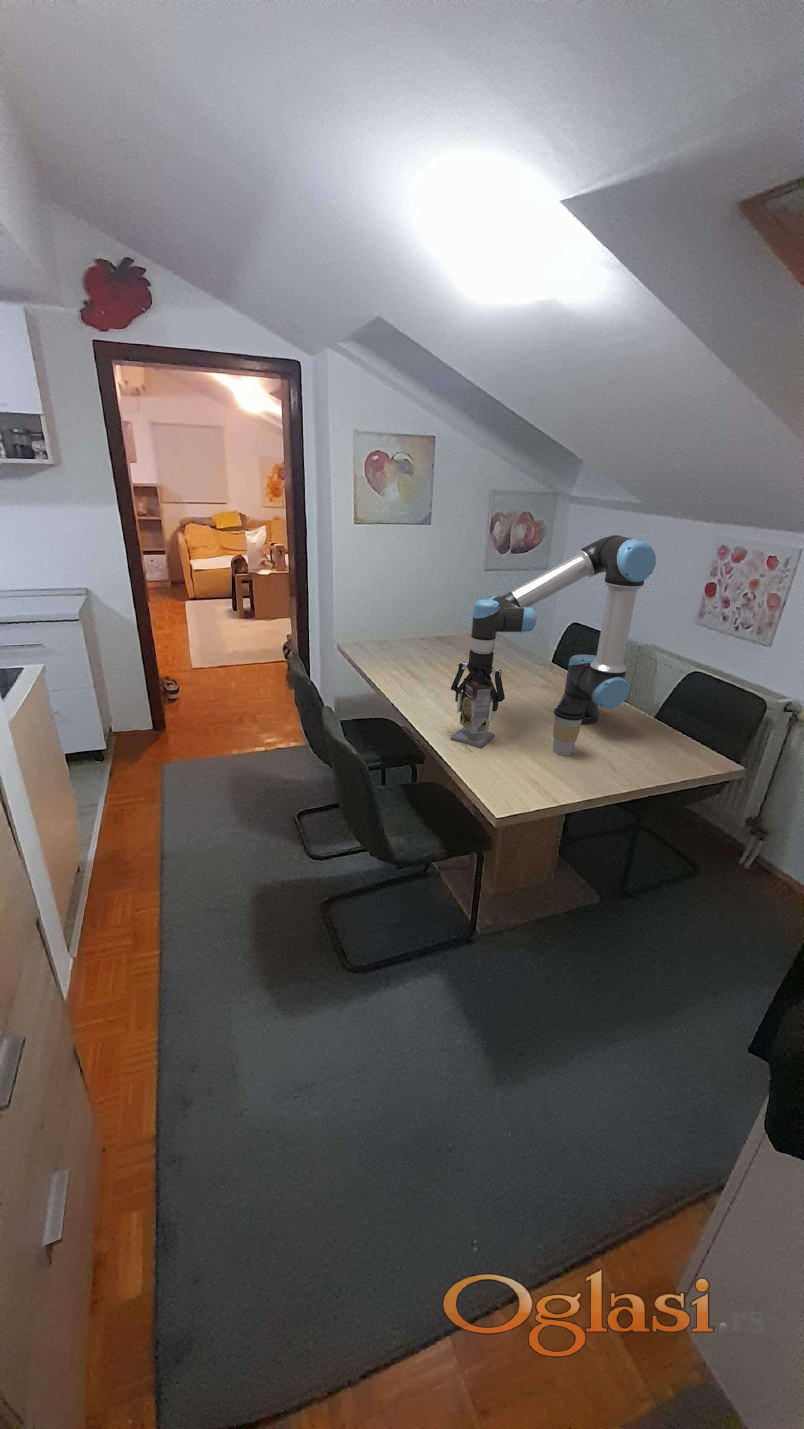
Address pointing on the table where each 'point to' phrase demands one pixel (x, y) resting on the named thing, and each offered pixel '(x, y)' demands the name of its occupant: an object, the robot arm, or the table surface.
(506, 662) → the table surface
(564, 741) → the coffee cup
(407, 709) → the table surface
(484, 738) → the tray
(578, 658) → the robot arm
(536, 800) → the table surface
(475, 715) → the coffee box
